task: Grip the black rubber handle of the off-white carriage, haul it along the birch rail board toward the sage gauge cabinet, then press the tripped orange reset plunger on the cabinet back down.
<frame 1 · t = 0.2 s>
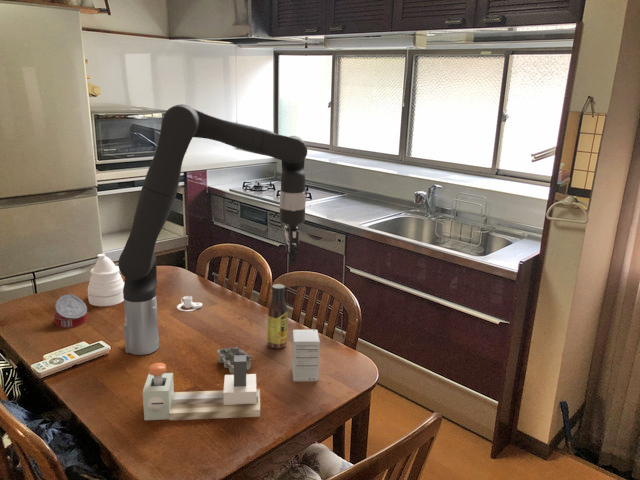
hand: (291, 258, 157), 29 cm above the table, fingers open, 8 cm apart
teacup and saucer: (189, 311, 187), on the table
rail board: (216, 407, 133), on the table
supplement box: (304, 375, 149), on the table
reset plunger: (158, 378, 128), point 9 cm above the table, slide at 2.5 cm
gauge cabinet: (159, 409, 131), on the table
grey jagged ring: (234, 365, 153), on the table
canned food: (72, 321, 175), on the table
honey pot: (107, 299, 193), on the table
sauce bottle: (277, 345, 165), on the table
carriage: (240, 378, 131), point 8 cm above the table, slide at 0.0 cm
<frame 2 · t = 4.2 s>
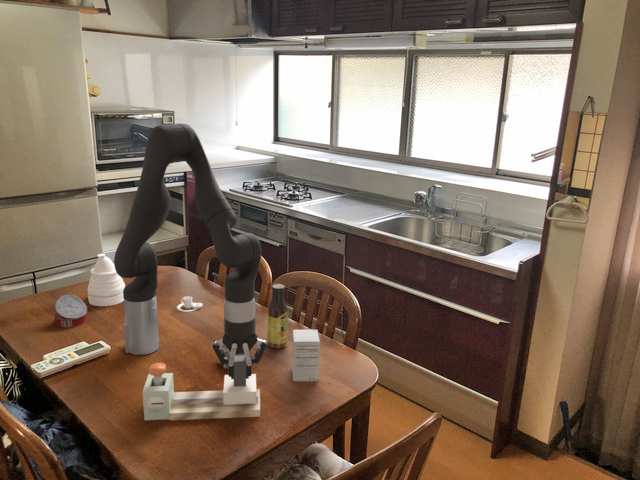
hand: (240, 376, 131), 9 cm above the table, fingers closed on carriage, 3 cm apart
carriage: (240, 378, 131), point 8 cm above the table, slide at 0.0 cm, touching gripper
everything else where it was.
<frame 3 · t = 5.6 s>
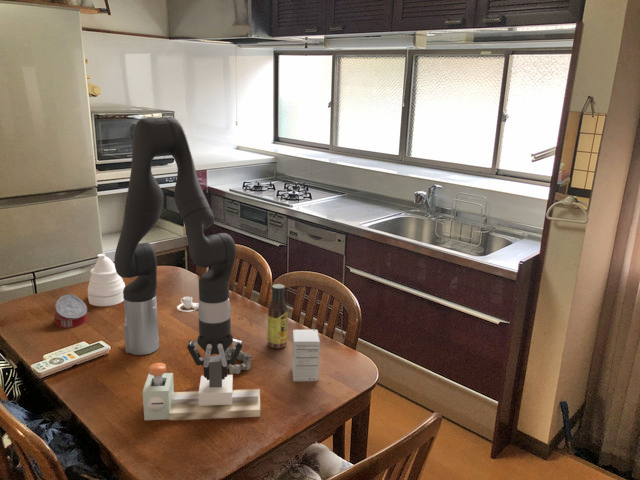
hand: (216, 377, 130), 9 cm above the table, fingers closed on carriage, 3 cm apart
carriage: (216, 379, 130), point 8 cm above the table, slide at 6.0 cm, touching gripper
everything else where it was.
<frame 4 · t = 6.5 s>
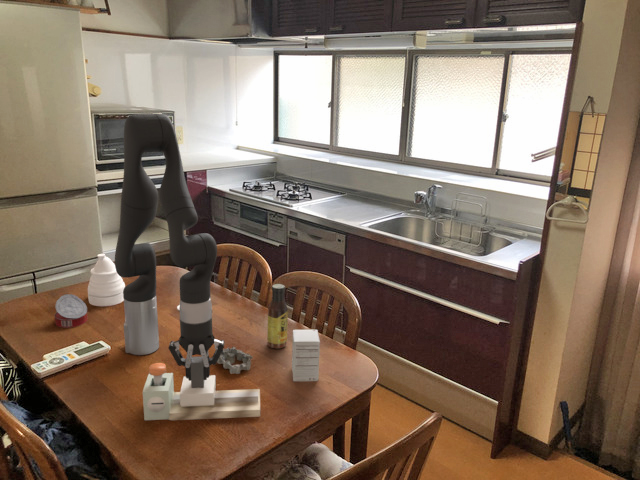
hand: (198, 378, 130), 9 cm above the table, fingers closed on carriage, 3 cm apart
carriage: (198, 380, 130), point 8 cm above the table, slide at 10.4 cm, touching gripper
everything else where it was.
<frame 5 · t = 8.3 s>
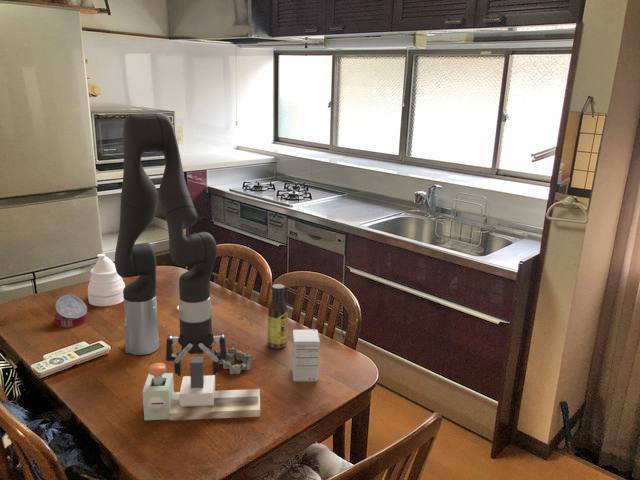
hand: (197, 373, 129), 10 cm above the table, fingers open, 8 cm apart
carriage: (197, 380, 130), point 8 cm above the table, slide at 10.5 cm
everything else where it was.
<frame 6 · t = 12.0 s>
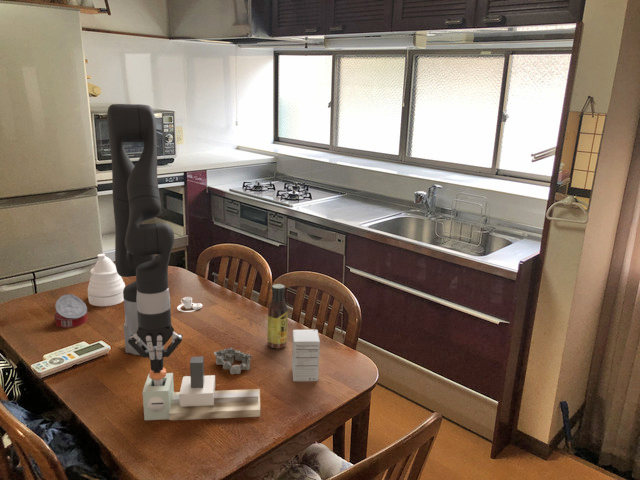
hand: (157, 371, 127), 11 cm above the table, fingers closed
reset plunger: (158, 382, 128), point 8 cm above the table, slide at 1.4 cm, touching gripper
everything else where it was.
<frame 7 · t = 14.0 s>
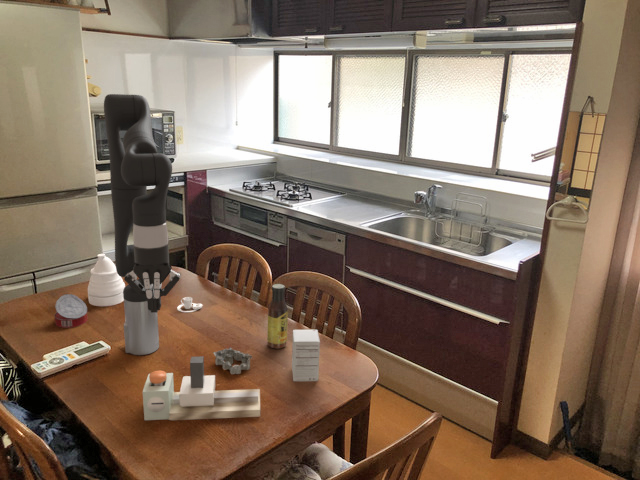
hand: (154, 311, 123), 27 cm above the table, fingers closed
reset plunger: (158, 385, 129), point 7 cm above the table, slide at 0.3 cm
everything else where it was.
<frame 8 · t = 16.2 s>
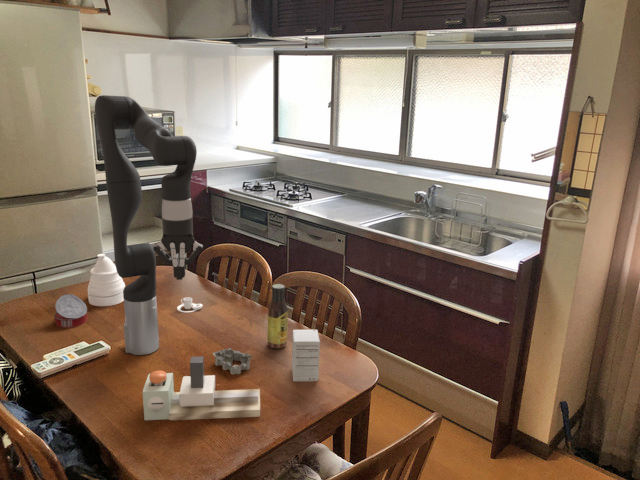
hand: (179, 278, 138), 29 cm above the table, fingers closed
nothing on the table moved.
at the end: carriage slide at 10.5 cm; reset plunger slide at 0.3 cm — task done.
